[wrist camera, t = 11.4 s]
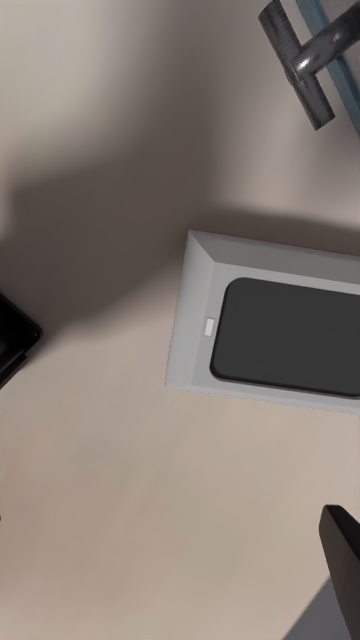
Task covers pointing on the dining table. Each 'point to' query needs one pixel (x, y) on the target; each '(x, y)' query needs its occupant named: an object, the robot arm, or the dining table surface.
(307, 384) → the grey beveled box
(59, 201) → the dining table surface
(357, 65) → the vise
